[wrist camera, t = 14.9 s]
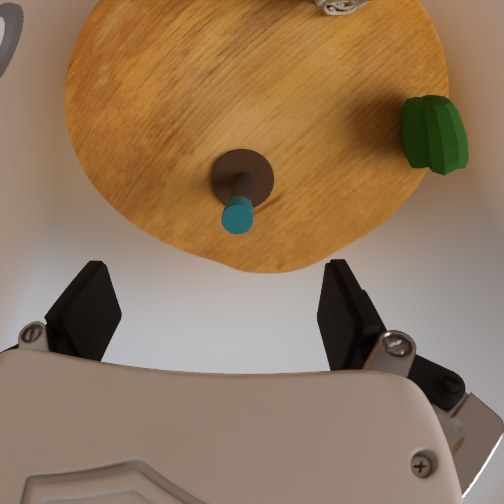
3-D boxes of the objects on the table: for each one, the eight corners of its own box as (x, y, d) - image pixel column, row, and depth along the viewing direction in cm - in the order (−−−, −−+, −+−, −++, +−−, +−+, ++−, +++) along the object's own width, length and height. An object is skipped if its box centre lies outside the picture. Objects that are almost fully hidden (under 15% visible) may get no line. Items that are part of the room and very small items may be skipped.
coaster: (213, 208, 32) (213, 209, 32) (211, 149, 29) (210, 150, 28) (273, 208, 32) (273, 209, 32) (274, 149, 29) (274, 149, 28)
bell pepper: (394, 108, 21) (408, 196, 26) (470, 106, 16) (474, 195, 21) (392, 93, 26) (406, 164, 31) (452, 90, 21) (460, 162, 27)
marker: (233, 189, 31) (222, 234, 20) (233, 171, 30) (220, 205, 19) (253, 189, 31) (253, 234, 20) (253, 170, 30) (253, 204, 19)
